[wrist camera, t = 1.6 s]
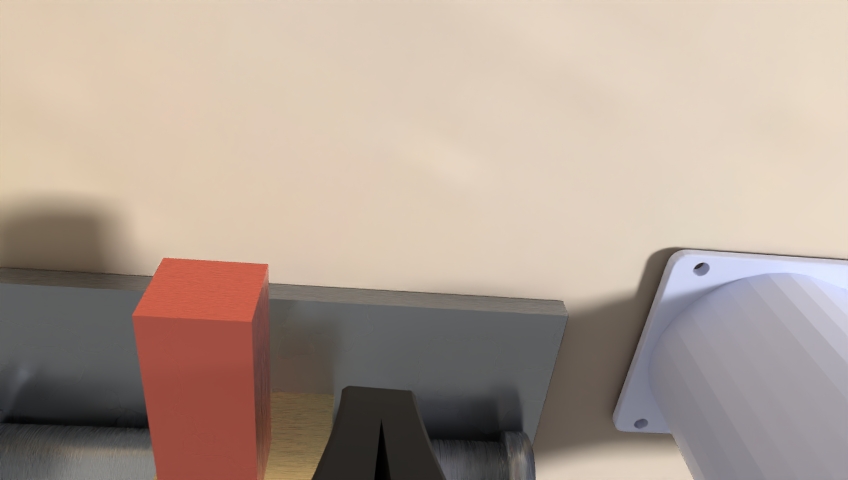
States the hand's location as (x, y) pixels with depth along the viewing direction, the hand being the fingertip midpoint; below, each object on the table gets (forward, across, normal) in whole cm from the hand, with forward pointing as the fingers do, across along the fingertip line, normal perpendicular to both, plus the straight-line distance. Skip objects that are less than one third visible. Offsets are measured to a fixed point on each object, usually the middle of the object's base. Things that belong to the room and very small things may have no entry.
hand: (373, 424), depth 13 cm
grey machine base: (+8, +3, +10) cm, 13 cm away
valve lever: (+3, +3, +5) cm, 7 cm away
